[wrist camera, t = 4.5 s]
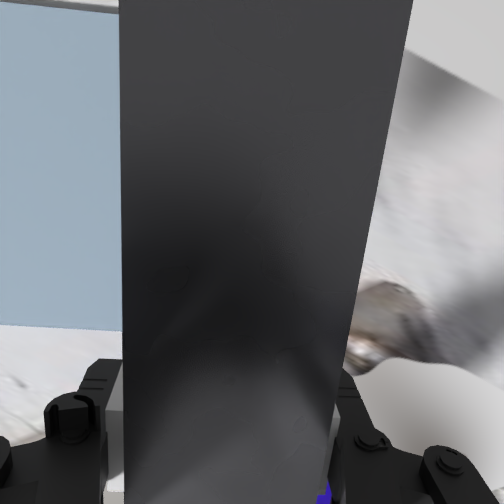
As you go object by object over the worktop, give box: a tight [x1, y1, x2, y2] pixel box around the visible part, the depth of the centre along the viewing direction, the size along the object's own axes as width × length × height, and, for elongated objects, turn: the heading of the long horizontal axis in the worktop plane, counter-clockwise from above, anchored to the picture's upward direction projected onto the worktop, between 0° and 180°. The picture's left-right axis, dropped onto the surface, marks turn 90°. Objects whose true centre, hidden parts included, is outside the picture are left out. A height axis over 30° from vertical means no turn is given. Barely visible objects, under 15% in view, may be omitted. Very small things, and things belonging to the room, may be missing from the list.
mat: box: [0, 2, 122, 331], centre depth 36 cm, size 13×26×1 cm, turn 175°
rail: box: [119, 0, 413, 504], centre depth 13 cm, size 24×4×6 cm, turn 175°
